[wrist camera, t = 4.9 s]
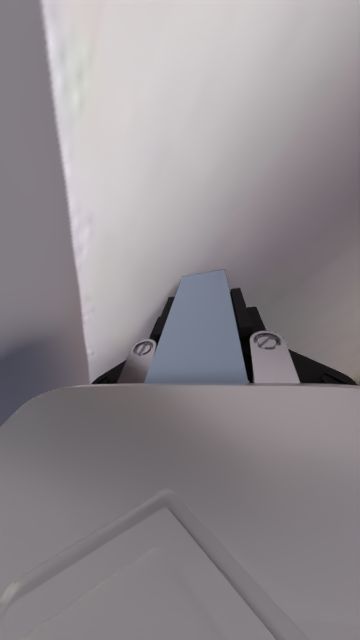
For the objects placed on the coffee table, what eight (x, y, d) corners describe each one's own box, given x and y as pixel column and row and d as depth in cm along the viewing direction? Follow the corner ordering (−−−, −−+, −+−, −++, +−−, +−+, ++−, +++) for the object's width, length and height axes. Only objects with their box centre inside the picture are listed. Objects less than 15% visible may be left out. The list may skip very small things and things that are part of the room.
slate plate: (182, 276, 12) (143, 385, 5) (224, 269, 12) (248, 384, 4) (208, 399, 21) (207, 505, 14) (234, 400, 20) (247, 511, 13)
